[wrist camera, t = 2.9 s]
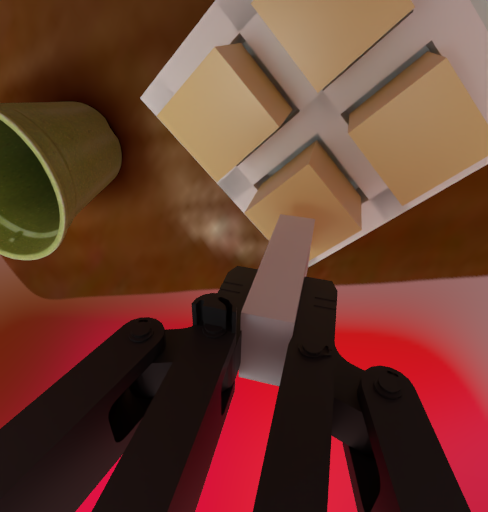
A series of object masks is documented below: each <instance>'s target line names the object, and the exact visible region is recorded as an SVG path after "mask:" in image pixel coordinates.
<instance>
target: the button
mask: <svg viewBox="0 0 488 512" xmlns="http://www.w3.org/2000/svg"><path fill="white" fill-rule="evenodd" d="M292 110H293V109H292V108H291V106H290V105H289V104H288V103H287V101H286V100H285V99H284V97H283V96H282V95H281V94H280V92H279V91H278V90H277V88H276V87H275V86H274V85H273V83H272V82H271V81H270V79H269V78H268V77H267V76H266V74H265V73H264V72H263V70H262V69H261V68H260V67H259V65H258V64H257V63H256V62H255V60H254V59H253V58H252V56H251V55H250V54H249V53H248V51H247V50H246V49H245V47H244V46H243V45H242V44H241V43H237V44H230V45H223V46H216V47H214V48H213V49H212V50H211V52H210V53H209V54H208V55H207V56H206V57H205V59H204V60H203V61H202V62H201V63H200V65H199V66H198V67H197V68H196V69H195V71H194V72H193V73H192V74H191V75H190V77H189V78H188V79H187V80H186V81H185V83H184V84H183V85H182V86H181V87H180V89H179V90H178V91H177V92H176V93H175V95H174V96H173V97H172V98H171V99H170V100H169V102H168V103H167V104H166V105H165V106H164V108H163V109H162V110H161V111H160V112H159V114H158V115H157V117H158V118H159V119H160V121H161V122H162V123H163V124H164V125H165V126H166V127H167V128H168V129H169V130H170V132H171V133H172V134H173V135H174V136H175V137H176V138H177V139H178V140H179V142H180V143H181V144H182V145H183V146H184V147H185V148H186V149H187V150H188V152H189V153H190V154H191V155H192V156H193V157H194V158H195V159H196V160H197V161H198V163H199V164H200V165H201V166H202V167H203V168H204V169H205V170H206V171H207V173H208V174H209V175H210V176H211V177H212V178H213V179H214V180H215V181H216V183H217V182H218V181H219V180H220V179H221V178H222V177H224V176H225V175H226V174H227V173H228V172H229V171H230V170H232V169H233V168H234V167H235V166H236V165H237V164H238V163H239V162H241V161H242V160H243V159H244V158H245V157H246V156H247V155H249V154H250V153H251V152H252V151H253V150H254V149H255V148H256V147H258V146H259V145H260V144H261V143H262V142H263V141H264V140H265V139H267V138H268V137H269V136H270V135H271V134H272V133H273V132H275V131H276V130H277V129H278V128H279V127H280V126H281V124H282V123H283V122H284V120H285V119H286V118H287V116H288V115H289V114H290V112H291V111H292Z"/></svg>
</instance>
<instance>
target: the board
mask: <svg viewBox="0 0 488 512" xmlns="http://www.w3.org/2000/svg"><path fill="white" fill-rule="evenodd" d="M252 1H253V0H215V2H214V3H213V4H212V5H211V7H210V8H209V9H208V11H207V12H206V13H205V14H204V16H203V17H202V18H201V20H200V21H199V22H198V24H197V25H196V26H195V27H194V29H193V30H192V31H191V33H190V34H189V35H188V37H187V38H186V39H185V40H184V42H183V43H182V44H181V46H180V47H179V48H178V49H177V51H176V52H175V53H174V55H173V56H172V57H171V59H170V60H169V61H168V62H167V64H166V65H165V66H164V68H163V69H162V70H161V72H160V73H159V74H158V75H157V77H156V78H155V79H154V81H153V82H152V83H151V84H150V86H149V87H148V88H147V90H146V91H145V92H144V94H143V95H142V96H141V97H140V99H141V100H142V101H143V102H144V103H145V104H146V105H147V106H148V108H149V109H150V110H151V111H152V112H153V113H154V114H155V115H156V116H157V115H158V114H159V112H160V111H161V110H162V109H163V108H164V106H165V105H166V104H167V103H168V102H169V100H170V99H171V98H172V97H173V96H174V95H175V93H176V92H177V91H178V90H179V89H180V87H181V86H182V85H183V84H184V83H185V81H186V80H187V79H188V78H189V77H190V75H191V74H192V73H193V72H194V71H195V69H196V68H197V67H198V66H199V65H200V63H201V62H202V61H203V60H204V59H205V57H206V56H207V55H208V54H209V53H210V52H211V50H212V49H213V48H214V47H216V46H223V45H230V44H237V43H241V44H242V45H243V46H244V47H245V49H246V50H247V51H248V53H249V54H250V55H251V56H252V58H253V59H254V60H255V62H256V63H257V64H258V65H259V67H260V68H261V69H262V70H263V72H264V73H265V74H266V76H267V77H268V78H269V79H270V81H271V82H272V83H273V85H274V86H275V87H276V88H277V90H278V91H279V92H280V94H281V95H282V96H283V97H284V99H285V100H286V101H287V103H288V104H289V105H290V106H291V108H292V109H293V110H292V111H291V112H290V114H289V115H288V116H287V118H286V119H285V120H284V122H283V123H282V124H281V126H280V127H279V128H278V129H277V130H276V131H275V132H273V133H272V134H271V135H270V136H269V137H268V138H267V139H265V140H264V141H263V142H262V143H261V144H260V145H259V146H258V147H256V148H255V149H254V150H253V151H252V152H251V153H250V154H249V155H247V156H246V157H245V158H244V159H243V160H242V161H241V162H239V163H238V164H237V165H236V166H235V167H234V168H233V169H232V170H230V171H229V172H228V173H227V174H226V175H225V176H224V177H222V178H221V179H220V180H219V181H218V182H217V184H218V185H219V186H220V187H221V188H222V189H223V191H224V192H225V193H226V194H227V195H228V196H229V197H230V198H231V199H232V201H233V202H234V203H235V204H236V205H237V206H238V207H239V208H240V209H241V211H242V212H243V213H245V211H246V209H247V208H248V206H249V204H250V203H251V201H252V199H253V198H254V196H255V194H256V192H257V191H258V189H259V187H260V186H261V184H262V183H263V182H265V181H266V180H267V179H268V178H270V177H271V176H272V175H273V174H275V173H276V172H277V171H278V170H280V169H281V168H282V167H283V166H285V165H286V164H287V163H288V162H290V161H291V160H292V159H293V158H295V157H296V156H297V155H298V154H300V153H301V152H302V151H303V150H305V149H306V148H307V147H308V146H310V145H311V144H312V143H313V142H315V141H316V140H317V141H318V142H319V144H320V145H321V146H322V147H323V149H324V150H325V151H326V153H327V154H328V155H329V156H330V158H331V159H332V160H333V161H334V163H335V164H336V165H337V167H338V168H339V169H340V170H341V172H342V173H343V174H344V176H345V177H346V178H347V179H348V181H349V182H350V183H351V185H352V186H353V187H354V188H355V190H356V191H357V192H358V194H359V195H360V196H361V217H362V230H361V231H359V232H358V233H356V234H354V235H353V236H351V237H349V238H347V239H346V240H344V241H342V242H341V243H339V244H337V245H335V246H334V247H332V248H330V249H329V250H327V251H325V252H324V253H322V254H320V255H318V256H317V257H315V258H313V259H312V260H310V261H309V262H308V267H310V266H311V265H313V264H315V263H317V262H318V261H320V260H322V259H324V258H325V257H327V256H329V255H331V254H332V253H334V252H336V251H337V250H339V249H341V248H343V247H344V246H346V245H348V244H350V243H351V242H353V241H355V240H357V239H358V238H360V237H362V236H364V235H365V234H367V233H369V232H370V231H372V230H374V229H376V228H377V227H379V226H381V225H383V224H384V223H386V222H388V221H390V220H391V219H393V218H395V217H397V216H398V215H400V214H402V213H403V212H405V211H407V210H409V209H410V208H412V207H414V206H416V205H417V204H419V203H421V202H423V201H424V200H426V199H428V198H430V197H431V196H433V195H435V194H436V193H438V192H440V191H442V190H443V189H445V188H447V187H449V186H450V185H452V184H454V183H456V182H457V181H459V180H461V179H463V178H464V177H466V176H468V175H469V174H471V173H473V172H475V171H476V170H478V169H480V168H482V167H483V166H485V165H487V164H488V156H487V157H485V158H484V159H482V160H480V161H479V162H477V163H475V164H474V165H472V166H470V167H468V168H467V169H465V170H463V171H462V172H460V173H458V174H456V175H455V176H453V177H451V178H450V179H448V180H446V181H445V182H443V183H441V184H439V185H438V186H436V187H434V188H433V189H431V190H429V191H428V192H426V193H424V194H422V195H421V196H419V197H417V198H416V199H414V200H412V201H410V202H409V203H407V204H405V205H404V206H402V205H401V204H400V202H399V201H398V200H397V198H396V197H395V196H394V194H393V193H392V192H391V190H390V189H389V188H388V186H387V185H386V184H385V182H384V181H383V180H382V178H381V177H380V176H379V174H378V173H377V172H376V170H375V169H374V168H373V166H372V165H371V164H370V162H369V161H368V160H367V158H366V157H365V156H364V154H363V153H362V152H361V150H360V149H359V148H358V146H357V145H356V144H355V142H354V141H353V140H352V138H351V137H350V136H349V134H348V125H349V114H350V113H351V112H352V111H353V110H355V109H356V108H357V107H358V106H360V105H361V104H362V103H363V102H365V101H366V100H367V99H368V98H370V97H371V96H372V95H373V94H375V93H376V92H377V91H378V90H380V89H381V88H382V87H383V86H385V85H386V84H387V83H388V82H390V81H391V80H392V79H393V78H395V77H396V76H397V75H398V74H400V73H401V72H402V71H403V70H405V69H406V68H407V67H408V66H410V65H411V64H412V63H413V62H415V61H416V60H417V59H418V58H420V57H421V56H422V55H423V54H425V53H426V52H427V51H428V52H431V53H434V54H437V55H440V56H443V57H446V58H447V59H448V61H449V62H450V64H451V66H452V67H453V69H454V70H455V72H456V74H457V75H458V77H459V79H460V80H461V82H462V83H463V85H464V87H465V88H466V90H467V91H468V93H469V95H470V96H471V98H472V100H473V101H474V103H475V104H476V106H477V108H478V109H479V111H480V112H481V114H482V116H483V117H484V119H485V121H486V122H487V124H488V31H487V29H486V27H485V25H484V24H483V22H482V20H481V18H480V17H479V15H478V13H477V12H476V10H475V8H474V6H473V5H472V3H471V1H470V0H411V1H412V3H413V4H414V6H415V8H414V9H413V10H411V11H410V12H409V13H408V14H407V15H406V16H405V17H404V18H402V19H401V20H400V21H399V22H398V23H397V24H396V25H394V26H393V27H392V28H391V29H390V30H389V31H388V32H387V33H385V34H384V35H383V36H382V37H381V38H380V39H379V40H378V41H376V42H375V43H374V44H373V45H372V46H371V47H370V48H368V49H367V50H366V51H365V52H364V53H363V54H362V55H361V56H359V57H358V58H357V59H356V60H355V61H354V62H353V63H351V64H350V65H349V66H348V67H347V68H346V69H345V70H344V71H342V72H341V73H340V74H339V75H338V76H337V77H336V78H335V79H333V80H332V81H331V82H330V83H329V84H328V85H327V86H325V87H324V88H323V89H322V90H321V91H320V92H319V93H317V92H316V90H315V89H314V88H313V86H312V85H311V84H310V82H309V81H308V80H307V78H306V77H305V76H304V74H303V73H302V72H301V70H300V69H299V67H298V66H297V65H296V63H295V62H294V61H293V59H292V58H291V57H290V55H289V54H288V53H287V51H286V50H285V49H284V47H283V46H282V45H281V43H280V42H279V41H278V39H277V38H276V37H275V35H274V34H273V33H272V31H271V30H270V29H269V27H268V26H267V25H266V23H265V22H264V21H263V19H262V18H261V17H260V15H259V14H258V13H257V11H256V10H255V9H254V7H253V6H252V5H251V3H252ZM157 118H158V117H157ZM158 119H159V118H158ZM159 120H160V119H159ZM167 129H168V128H167ZM168 130H169V129H168ZM169 131H170V130H169ZM176 139H177V138H176ZM177 140H178V139H177ZM178 141H179V140H178ZM185 149H186V148H185ZM186 150H187V149H186ZM187 151H188V150H187ZM195 160H196V159H195ZM196 161H197V160H196ZM197 162H198V161H197ZM204 170H205V169H204ZM205 171H206V170H205ZM206 172H207V171H206ZM213 180H214V179H213ZM214 181H215V180H214ZM215 182H216V181H215ZM251 222H252V221H251ZM252 223H253V222H252ZM253 224H254V223H253ZM260 232H261V231H260ZM261 233H262V232H261ZM262 234H263V233H262Z"/></svg>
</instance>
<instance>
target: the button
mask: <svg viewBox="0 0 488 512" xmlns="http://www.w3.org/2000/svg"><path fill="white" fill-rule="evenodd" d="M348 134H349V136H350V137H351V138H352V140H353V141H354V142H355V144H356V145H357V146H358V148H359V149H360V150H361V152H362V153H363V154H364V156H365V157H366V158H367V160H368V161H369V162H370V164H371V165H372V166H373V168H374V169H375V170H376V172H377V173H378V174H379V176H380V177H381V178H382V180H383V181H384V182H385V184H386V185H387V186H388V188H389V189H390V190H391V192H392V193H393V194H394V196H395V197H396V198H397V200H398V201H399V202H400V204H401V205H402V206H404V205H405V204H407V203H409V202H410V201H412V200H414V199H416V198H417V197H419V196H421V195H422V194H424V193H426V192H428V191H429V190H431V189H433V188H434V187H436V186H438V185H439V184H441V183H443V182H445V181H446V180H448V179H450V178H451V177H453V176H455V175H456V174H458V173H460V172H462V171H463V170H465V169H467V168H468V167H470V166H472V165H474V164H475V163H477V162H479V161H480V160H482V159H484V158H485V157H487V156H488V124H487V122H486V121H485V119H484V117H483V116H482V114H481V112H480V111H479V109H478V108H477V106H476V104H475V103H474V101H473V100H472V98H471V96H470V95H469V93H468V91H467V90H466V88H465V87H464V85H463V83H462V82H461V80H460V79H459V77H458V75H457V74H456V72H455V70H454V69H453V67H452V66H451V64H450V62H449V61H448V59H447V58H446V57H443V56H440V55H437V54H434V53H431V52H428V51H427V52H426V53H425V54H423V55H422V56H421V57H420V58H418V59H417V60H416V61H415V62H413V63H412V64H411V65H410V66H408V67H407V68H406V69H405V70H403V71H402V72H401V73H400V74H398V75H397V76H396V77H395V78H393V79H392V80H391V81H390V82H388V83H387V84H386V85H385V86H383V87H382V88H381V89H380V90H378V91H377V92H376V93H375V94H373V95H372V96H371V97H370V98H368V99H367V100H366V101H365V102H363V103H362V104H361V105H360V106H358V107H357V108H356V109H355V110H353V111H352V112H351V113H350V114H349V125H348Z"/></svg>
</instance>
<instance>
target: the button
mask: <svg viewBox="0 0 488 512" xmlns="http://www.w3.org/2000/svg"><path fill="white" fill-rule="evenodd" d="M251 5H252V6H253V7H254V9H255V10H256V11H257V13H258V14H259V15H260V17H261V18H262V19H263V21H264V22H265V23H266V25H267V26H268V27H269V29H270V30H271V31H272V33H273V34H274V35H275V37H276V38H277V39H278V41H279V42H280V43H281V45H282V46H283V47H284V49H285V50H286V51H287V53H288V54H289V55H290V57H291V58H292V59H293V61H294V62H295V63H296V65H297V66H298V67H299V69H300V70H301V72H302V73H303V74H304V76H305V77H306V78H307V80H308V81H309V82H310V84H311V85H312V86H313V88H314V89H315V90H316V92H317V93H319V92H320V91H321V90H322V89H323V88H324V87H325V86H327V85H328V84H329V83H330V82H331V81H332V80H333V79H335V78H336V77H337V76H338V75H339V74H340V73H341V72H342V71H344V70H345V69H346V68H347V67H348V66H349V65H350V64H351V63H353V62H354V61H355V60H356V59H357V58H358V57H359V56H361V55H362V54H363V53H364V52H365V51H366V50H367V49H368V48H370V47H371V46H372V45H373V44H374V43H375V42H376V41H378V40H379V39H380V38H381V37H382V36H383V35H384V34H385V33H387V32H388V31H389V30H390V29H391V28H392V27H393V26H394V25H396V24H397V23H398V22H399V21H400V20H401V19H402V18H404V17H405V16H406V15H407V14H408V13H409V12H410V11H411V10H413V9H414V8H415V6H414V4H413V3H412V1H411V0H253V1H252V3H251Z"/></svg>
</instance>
